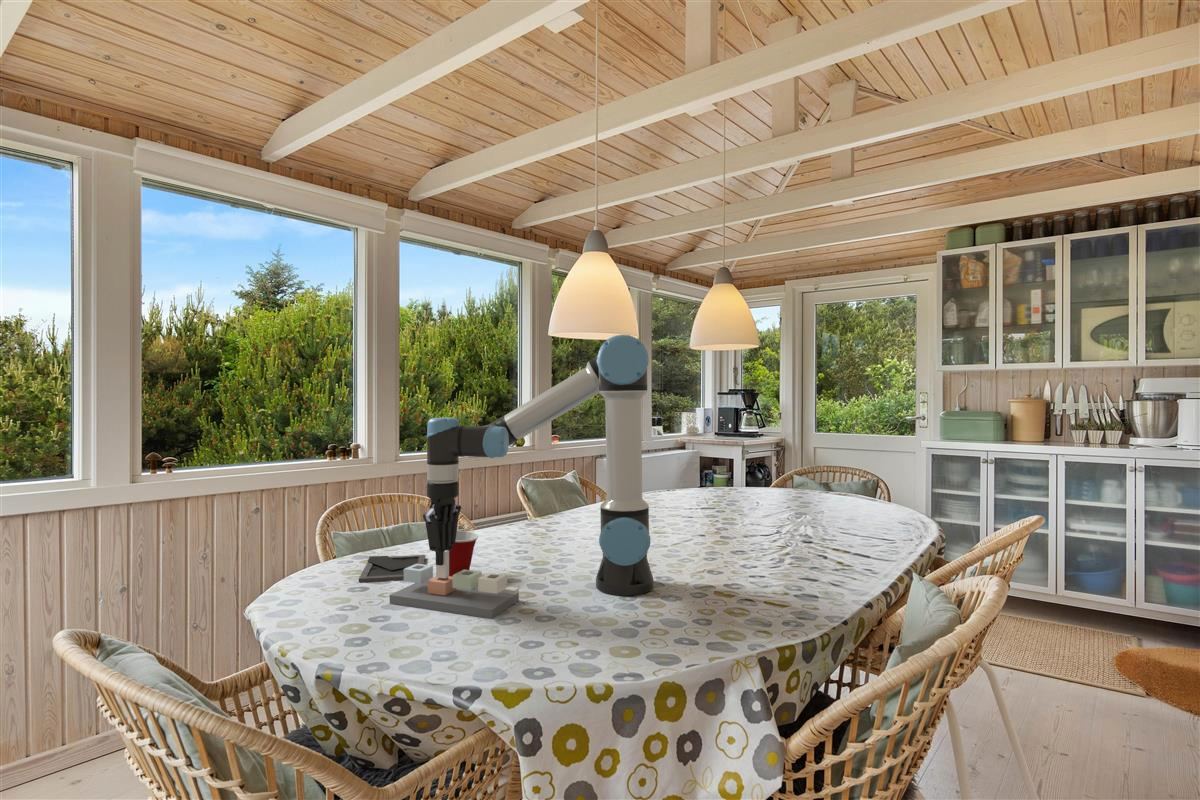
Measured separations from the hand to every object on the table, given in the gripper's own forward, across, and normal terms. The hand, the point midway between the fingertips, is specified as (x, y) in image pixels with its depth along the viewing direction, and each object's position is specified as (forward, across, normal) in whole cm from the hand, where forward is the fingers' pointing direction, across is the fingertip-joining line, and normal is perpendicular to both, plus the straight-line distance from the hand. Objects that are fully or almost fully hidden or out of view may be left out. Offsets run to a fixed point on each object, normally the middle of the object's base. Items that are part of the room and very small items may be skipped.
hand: (442, 577), depth 151 cm
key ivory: (+1, 0, +14) cm, 14 cm away
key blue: (+1, 0, -7) cm, 7 cm away
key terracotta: (+4, 0, 0) cm, 4 cm away
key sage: (+1, 0, +7) cm, 7 cm away
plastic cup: (+6, -17, -6) cm, 19 cm away
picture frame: (+6, -17, -28) cm, 33 cm away
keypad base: (+6, 0, +4) cm, 7 cm away
